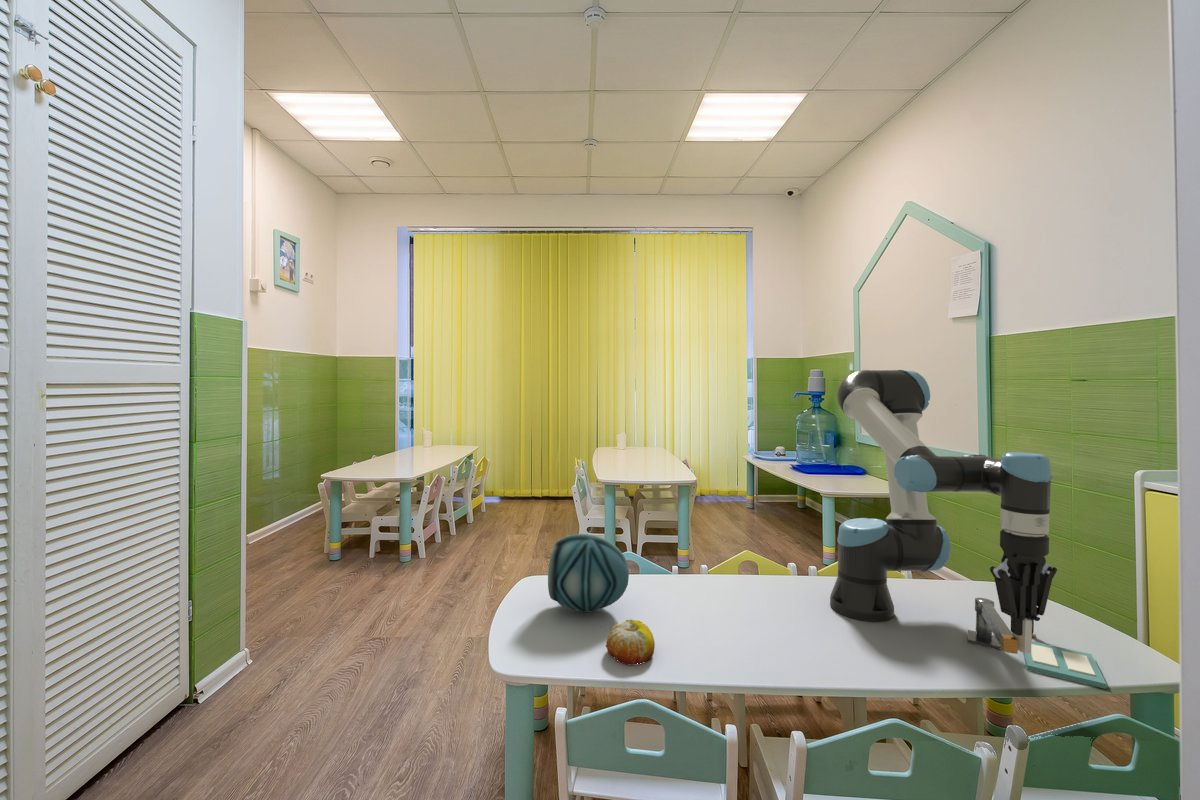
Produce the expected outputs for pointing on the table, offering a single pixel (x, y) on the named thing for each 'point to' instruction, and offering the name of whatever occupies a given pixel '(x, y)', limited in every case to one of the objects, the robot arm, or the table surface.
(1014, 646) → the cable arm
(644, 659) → the fruit
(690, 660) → the table surface
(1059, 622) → the table surface
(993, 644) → the post
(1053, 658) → the mat
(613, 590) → the toy
